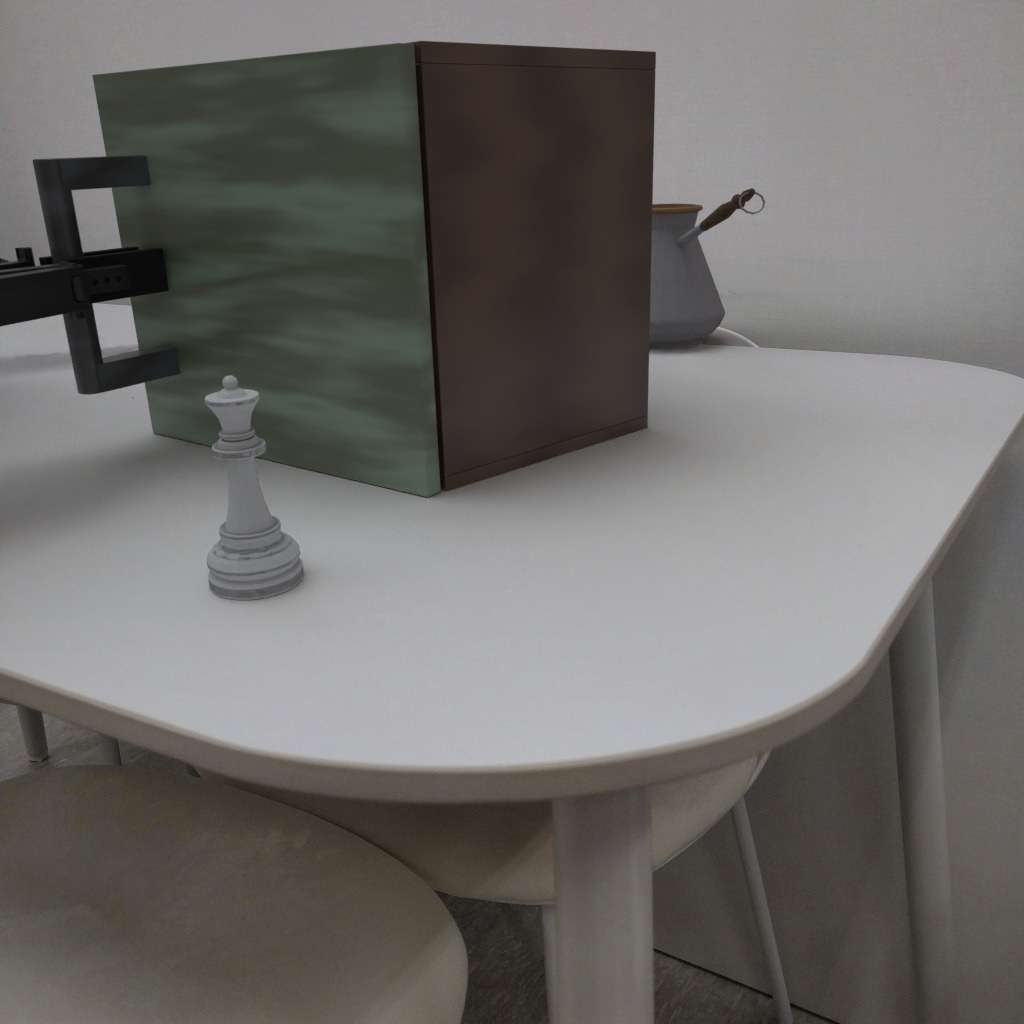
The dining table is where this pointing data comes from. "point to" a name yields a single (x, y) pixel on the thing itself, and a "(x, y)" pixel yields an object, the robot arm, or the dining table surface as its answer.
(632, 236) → the cabinet
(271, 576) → the chess piece
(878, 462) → the dining table surface
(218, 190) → the cabinet door
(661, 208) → the coffee pot
